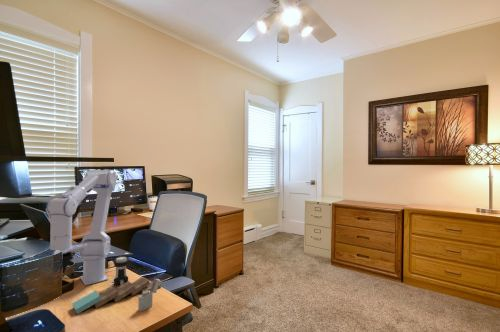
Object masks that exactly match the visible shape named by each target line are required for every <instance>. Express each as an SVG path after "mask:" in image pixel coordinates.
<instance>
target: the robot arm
mask: <svg viewBox="0 0 500 332" xmlns="http://www.w3.org/2000/svg"><path fill="white" fill-rule="evenodd" d="M116 185H117V174H116V172H115V171H114V170H113V169H109V170H108V169H106V170H104V169H102V170H101V169H100V170H99V169H97V170H96V169H95V170H94V169H89V170H88V171H87V172H86V173H85V176H84V179H83V180H82V181H81V182H80V183H79V184H78V185H71V186H70V187H69V188H68V189H67V190H66V191H65V192H63V193H62V194H61V195H60V196H58V197H55V198H53V199H51V200H49V201H48V203H47V205H46V208H45V212H46V215H47V216H48V221H49V222H50V233H49V235H50V237H49V238H50V241H49V245H50V246H49V249H50V250H55V251H56V250H60V251H62V254H63V273H64V275H65V272H66V269H67V267H68V264H69V262H70V260H72V256H73V255H72V253H79V256H80V257H82V260H83V264H82V265H83V266H82V267H83V269H82V271H83V273H82V275H81V276H79V278H80V279H81V281H82V282H83V284H84V286H88V285H92V284H96V283H100V282H104V281H107V280H109V278H108V276H107V275H106V274H105V273H106V257H107V255H109V254H110V251H111V237H110V236H109V235H108V234H107V233H105V230H106V224H107V218H108V215H109V209H110V208H109V207H110V202H111V197H112V193H113V192H114V191H115V189H116ZM90 190H92V191H94V192H95V193H97V195H96V200H95V206H94V211H93V215H92V220H91V226H90V230H89V232H88V233H87V234H85V235H84V236H83V237H82V240H81V242H80V244H72V243H73V239H72V238H73V237H72V236H73V215H75V213H76V211H77V208H78V207H79V205H80V203H81V202H82V201H83V200H84V199H85V198H86V196H87V192H89V191H90ZM64 275H63V277H62V278H65V277H64Z"/></svg>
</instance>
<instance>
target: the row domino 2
mask: <svg viewBox="0 0 500 332" xmlns="http://www.w3.org/2000/svg"><path fill="white" fill-rule="evenodd" d="M132 283H133V282H130V281H129V280H128V282H126V283H125V284H123V285H119V286H117V288H115V289H116V290H117V292H118V294H119V295H118V296H116V297H115V298H113V299H112V300H113V302H115V303H117V302H120V300H122V299H124V298H125V297H127V296H129V295H130V293H131V292H133V291H134V290H136V288H135V285H133V284H132Z"/></svg>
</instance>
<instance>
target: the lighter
mask: <svg viewBox="0 0 500 332" xmlns="http://www.w3.org/2000/svg"><path fill="white" fill-rule="evenodd" d="M152 282H153V284H152V286H151V289H150V292H149V291H148V290H146V291H144V292H143V293H141V295H139V296H138V306H137V307H138V311H140V312H143V311H146V310H147V309H149V308H152V307H153V294H156V293H157V291H158V290H159V289H158V286H159V284H160V282H161V279H159V278H154V279H153V281H152Z"/></svg>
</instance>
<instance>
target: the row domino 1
mask: <svg viewBox="0 0 500 332" xmlns="http://www.w3.org/2000/svg"><path fill="white" fill-rule="evenodd" d="M116 289H117V288H115V286H114V285H113V286H109V288H107V289H105V290H103V291H101V292H99V293H98V294H99V295H100V297H101V301H99V302H97V303H96V304H94V305H93V306H94V307H95V308H96V309H99V308H100V307H101V306H103V305H104V304H106V303H108V302H109V301H111V300H113V298H115V297H116V296H118V295H119V294H118V292H117V290H116Z"/></svg>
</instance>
